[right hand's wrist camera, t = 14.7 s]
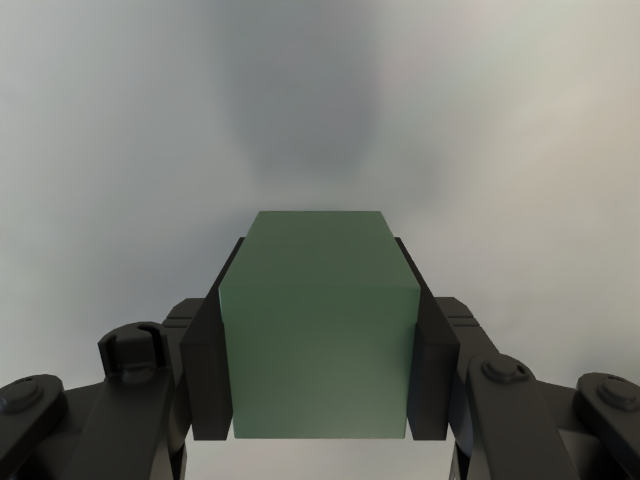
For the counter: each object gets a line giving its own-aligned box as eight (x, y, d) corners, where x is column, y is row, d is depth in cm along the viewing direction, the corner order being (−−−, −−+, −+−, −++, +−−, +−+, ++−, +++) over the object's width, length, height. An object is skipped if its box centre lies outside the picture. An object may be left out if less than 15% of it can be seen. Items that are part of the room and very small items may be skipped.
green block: (374, 315, 16) (405, 439, 10) (265, 315, 16) (234, 439, 10) (380, 210, 14) (421, 287, 8) (259, 210, 14) (217, 287, 8)
